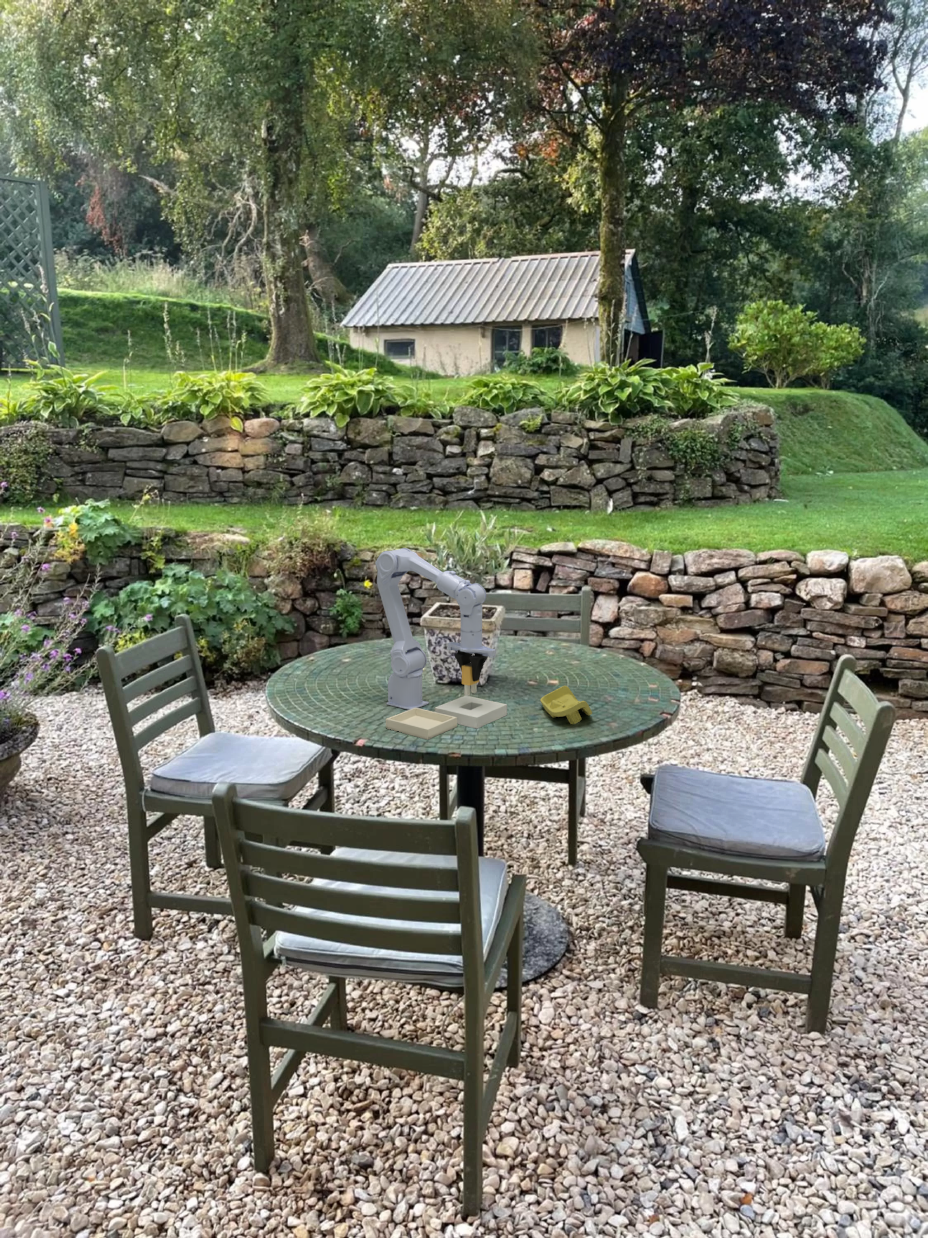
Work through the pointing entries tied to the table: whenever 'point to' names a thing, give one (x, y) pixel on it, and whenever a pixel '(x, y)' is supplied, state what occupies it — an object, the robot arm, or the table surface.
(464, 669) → the fuse
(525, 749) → the table surface
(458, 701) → the fuse block
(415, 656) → the robot arm
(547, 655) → the table surface
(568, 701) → the plastic component
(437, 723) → the parts tray
